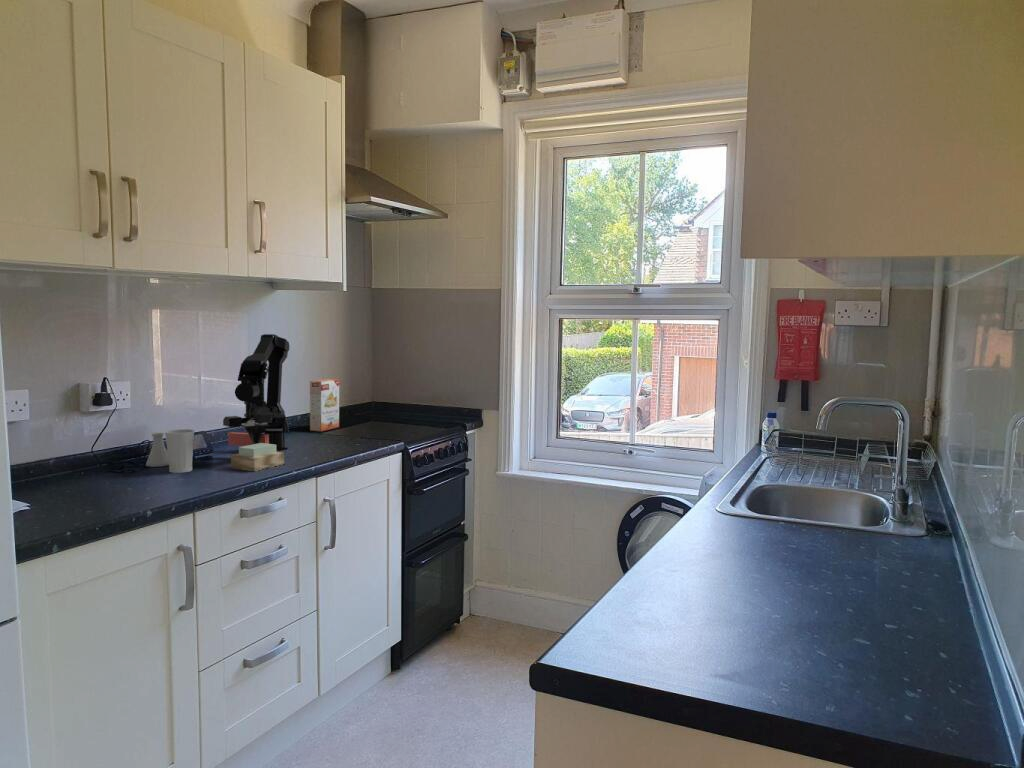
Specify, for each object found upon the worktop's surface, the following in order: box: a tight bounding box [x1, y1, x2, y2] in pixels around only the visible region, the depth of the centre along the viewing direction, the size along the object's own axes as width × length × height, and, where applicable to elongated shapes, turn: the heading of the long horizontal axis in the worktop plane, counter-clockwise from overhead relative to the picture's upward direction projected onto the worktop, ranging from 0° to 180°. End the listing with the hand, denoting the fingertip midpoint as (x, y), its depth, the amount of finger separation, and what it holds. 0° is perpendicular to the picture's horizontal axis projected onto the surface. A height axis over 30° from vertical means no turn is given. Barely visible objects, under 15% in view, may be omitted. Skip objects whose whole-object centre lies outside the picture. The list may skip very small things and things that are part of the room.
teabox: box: [230, 450, 285, 472], centre depth 220 cm, size 12×10×4 cm
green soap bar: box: [238, 443, 276, 457], centre depth 219 cm, size 9×6×2 cm
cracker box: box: [309, 378, 340, 433], centre depth 296 cm, size 14×6×21 cm, turn 162°
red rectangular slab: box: [227, 431, 269, 447], centre depth 232 cm, size 14×2×7 cm, turn 75°
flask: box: [145, 432, 169, 468], centre depth 220 cm, size 7×7×10 cm
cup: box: [164, 428, 195, 474], centre depth 212 cm, size 8×8×12 cm
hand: (255, 446), depth 228 cm, fingers closed
